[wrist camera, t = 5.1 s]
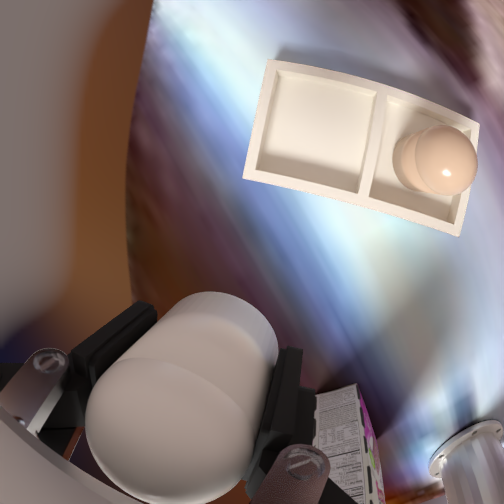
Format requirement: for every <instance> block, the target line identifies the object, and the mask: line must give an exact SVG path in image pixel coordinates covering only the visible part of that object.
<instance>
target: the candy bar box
mask: <svg viewBox="0 0 504 504" xmlns="http://www.w3.org/2000/svg"><path fill="white" fill-rule="evenodd" d="M312 446H314V447H316V448H318V449H320V450H321V451H322V452H323V453H324V454H325V455H326V456H327V458H328V459H329V461H330V465H331V468H330V473H329V476H328V477H329V478H330V479H331V480H332V481H333V482H334V483H336V484H337V485H338V486H339V487H340V488H341V489H342V490H343V491H344V492H345V493H347V494H348V495H349V496H350V497H351V498H352V499H353V500H355V501H356V502H357V503H358V504H385V497H384V489H383V481H382V473H381V466H380V460H379V453H378V447H377V441H376V437H375V434H374V431H373V428H372V425H371V421H370V418H369V415H368V412H367V409H366V406H365V403H364V401H363V398H362V395H361V392H360V389H359V386H358V384H357V383H355V384H351V385H347V386H344V387H342V388H339V389H336V390H332V391H328V392H324V393H321V394H317V395H315V412H314V429H313V443H312Z"/></svg>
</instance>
